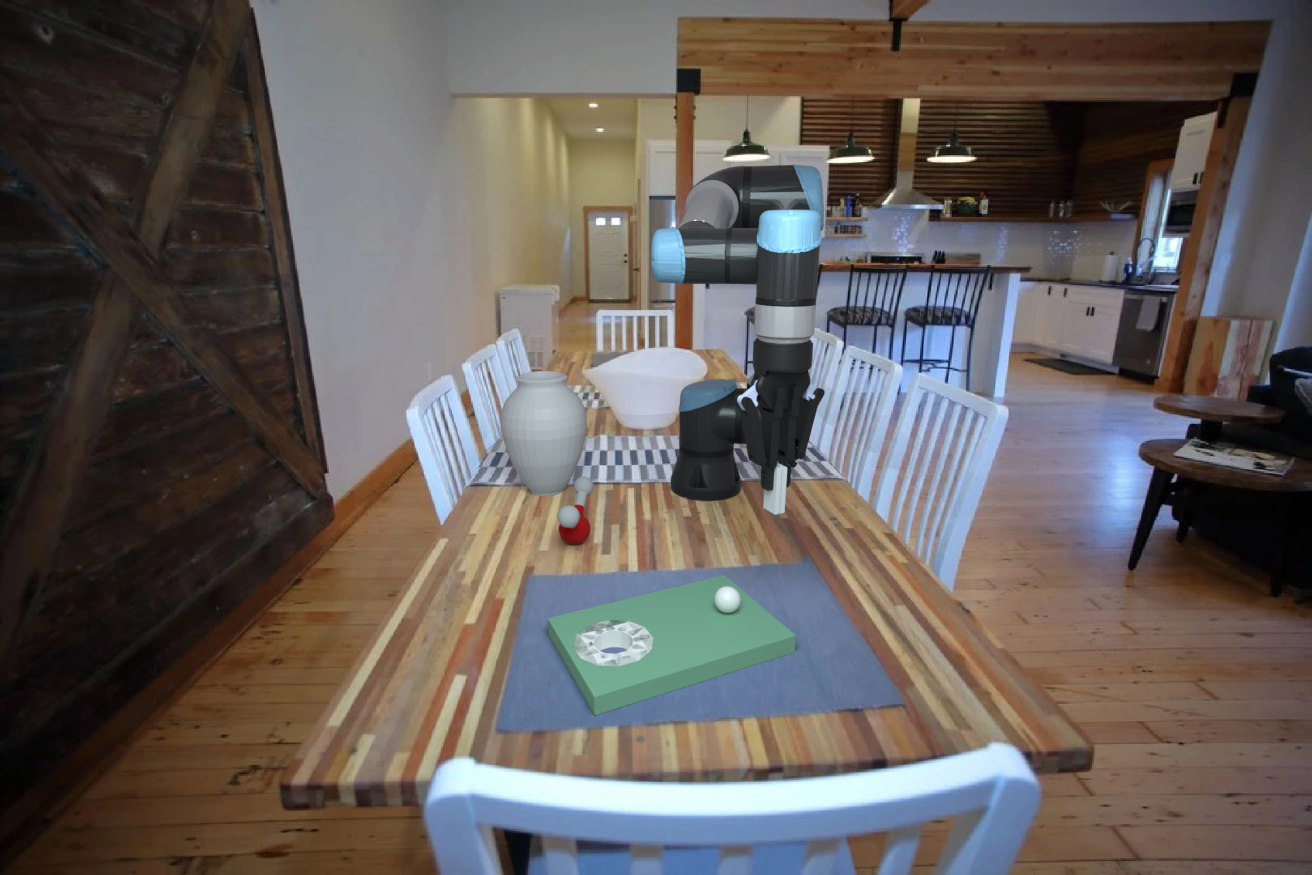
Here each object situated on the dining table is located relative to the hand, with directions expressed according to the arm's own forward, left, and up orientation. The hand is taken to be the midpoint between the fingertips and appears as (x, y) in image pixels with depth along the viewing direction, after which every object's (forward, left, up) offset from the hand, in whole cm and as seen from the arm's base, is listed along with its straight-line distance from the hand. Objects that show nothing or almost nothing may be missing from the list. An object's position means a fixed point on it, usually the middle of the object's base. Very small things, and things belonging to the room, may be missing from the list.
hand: (773, 509), depth 92 cm
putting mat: (+16, 0, -16) cm, 23 cm away
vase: (+14, -62, -17) cm, 65 cm away
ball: (+7, 0, -12) cm, 14 cm away
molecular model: (+17, -35, -17) cm, 42 cm away
